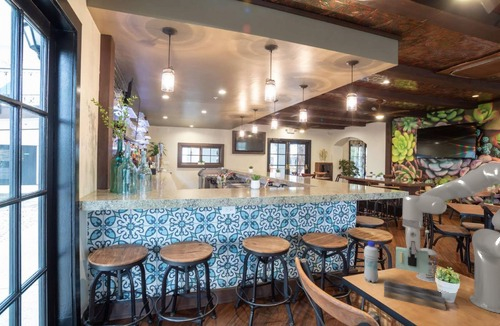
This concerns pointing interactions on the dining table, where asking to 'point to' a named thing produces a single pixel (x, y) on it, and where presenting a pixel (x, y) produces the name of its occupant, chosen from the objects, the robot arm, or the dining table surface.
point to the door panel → (403, 260)
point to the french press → (429, 265)
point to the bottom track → (414, 295)
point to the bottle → (371, 262)
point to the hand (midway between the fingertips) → (411, 264)
